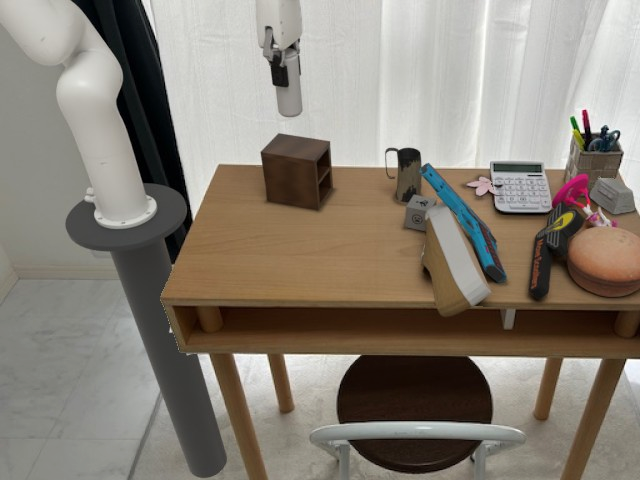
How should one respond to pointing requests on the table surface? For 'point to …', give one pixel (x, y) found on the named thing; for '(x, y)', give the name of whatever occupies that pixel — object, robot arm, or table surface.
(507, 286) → the table surface
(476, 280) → the sneaker
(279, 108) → the beverage can
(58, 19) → the robot arm
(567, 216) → the decorative sign
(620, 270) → the round sponge cake
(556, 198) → the figurine
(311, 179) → the divided wooden organizer
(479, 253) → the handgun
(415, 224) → the dice cube
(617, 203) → the mineral specimen
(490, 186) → the flower
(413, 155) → the mug
